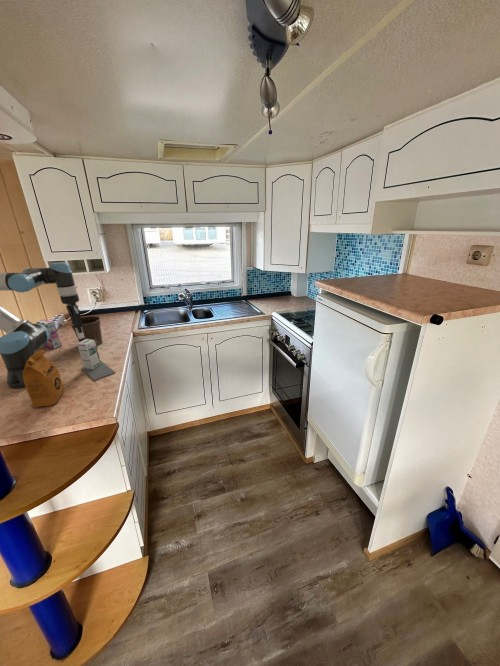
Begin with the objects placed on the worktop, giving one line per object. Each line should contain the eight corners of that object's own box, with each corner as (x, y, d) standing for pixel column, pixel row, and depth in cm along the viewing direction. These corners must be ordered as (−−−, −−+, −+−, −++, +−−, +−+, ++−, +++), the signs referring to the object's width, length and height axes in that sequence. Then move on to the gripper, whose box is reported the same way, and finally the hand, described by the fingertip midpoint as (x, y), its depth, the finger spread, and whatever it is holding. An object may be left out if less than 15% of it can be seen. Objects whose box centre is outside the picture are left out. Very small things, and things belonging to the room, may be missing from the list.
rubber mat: (94, 381, 129) (94, 380, 129) (81, 368, 140) (81, 367, 140) (115, 372, 136) (115, 371, 135) (101, 361, 147) (101, 360, 147)
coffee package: (70, 390, 122) (55, 346, 114) (55, 407, 111) (38, 360, 103) (46, 392, 121) (30, 348, 113) (29, 409, 110) (10, 362, 101)
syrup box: (93, 369, 138) (86, 344, 132) (83, 368, 139) (76, 343, 134) (101, 364, 143) (95, 339, 137) (92, 363, 144) (85, 338, 139)
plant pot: (90, 351, 159) (83, 326, 153) (70, 348, 164) (63, 323, 158) (111, 340, 173) (106, 317, 167) (92, 337, 178) (86, 314, 172)
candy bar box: (62, 346, 167) (54, 321, 160) (53, 349, 163) (45, 324, 156) (52, 343, 171) (44, 318, 165) (43, 346, 167) (35, 321, 161)
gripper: (81, 294, 131) (93, 338, 140) (72, 291, 139) (84, 332, 148) (64, 298, 126) (77, 343, 135) (56, 294, 134) (69, 337, 143)
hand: (81, 337), depth 142 cm, fingers closed
